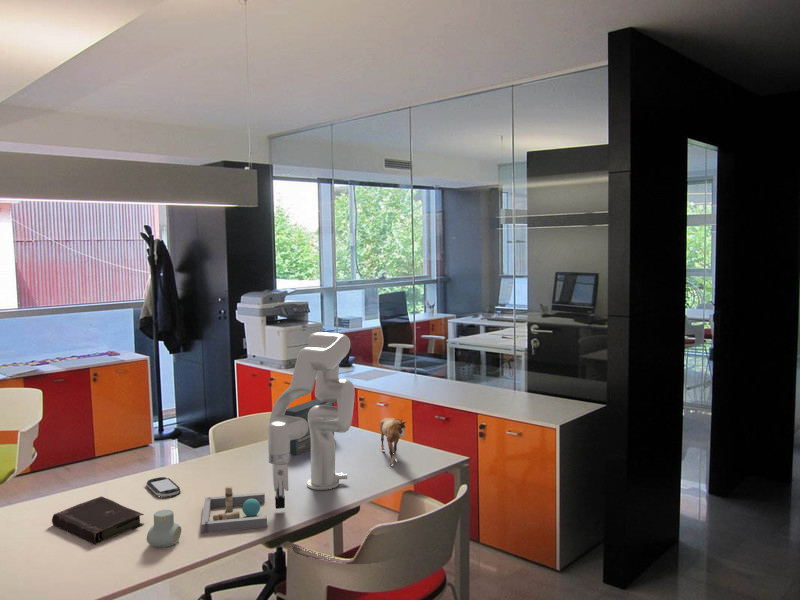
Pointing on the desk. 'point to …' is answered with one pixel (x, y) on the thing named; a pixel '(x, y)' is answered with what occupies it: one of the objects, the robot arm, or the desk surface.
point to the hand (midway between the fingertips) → (280, 507)
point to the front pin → (226, 516)
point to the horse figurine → (392, 433)
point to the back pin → (229, 499)
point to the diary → (97, 519)
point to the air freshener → (164, 530)
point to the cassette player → (302, 411)
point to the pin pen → (231, 523)
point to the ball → (251, 507)
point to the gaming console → (163, 487)
